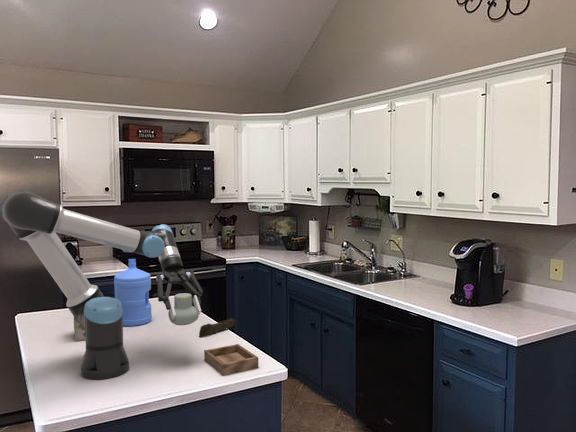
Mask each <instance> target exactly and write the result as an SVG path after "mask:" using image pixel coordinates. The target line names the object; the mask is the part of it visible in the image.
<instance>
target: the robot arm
mask: <svg viewBox="0 0 576 432" xmlns="http://www.w3.org/2000/svg"><path fill="white" fill-rule="evenodd" d="M63 207H64V206H62V204H60V203H57V202H54V201H51V200H48V199H46V198H44V197H42V196H39V195H38V194H36V193H34V192H31V191H30V192H29V191H26V190H19V191H14V192H11V193H10V194H9V195H7V196H5V197H4V199H3V201H2V203H1V204H0V215H1V217H2V219H3V220H4V221H5V222H6V223H7V224H8V225H9V227H10V228H11V230H12V232H13V233H14V234H15V235H16V237H17V238H18V239H19V240H20V241H25V242H27V243H28V245H29V246H30V248H31V249H32V251H33V252H34V253H35V255H36V256H37V257H38V259H39V260H40V262H41V264H42V265H43V266H44V267H45V269H46V271H48V273H49V275H50V276H51V278H53V280H54V282H55V283H56V284H57V286H58V287H59V289H60V290H61V292H62V293H63V294H64V296H65V297H66V298H67V301H66V304H65V306H66V308H68V310H69V312H70V313H71V314H72V316H73V320H74V319H75V320H76V322H77V323H78V324H79V325H81V326H82V327H83V328H84V329H85V340H84V341H85V351H84V353H83V358H82V362H81V364H80V375H81V376H82V377H83V378H85V379H90V380H105V379H110V378H114V377H118V376H122V374H125V373H127V372H128V371H129V370H130V360H129V357H128V354H127V352H126V349H125V347H124V346H125V345H124V326H123V309H122V304H121V302H120V301H119V300H118V299H116V298H115V297H111V296H104V294H103V292H102V291H101V290H100V288H99V287H98V285H96V284H91V283H90V282H89V280H88V278H87V277H86V276H85V274H84V273H83V272H82V270H81V269H80V266H79V265H78V264H77V262H76V261H75V259H74V258H73V256H72V255H71V253H70V252H69V250H68V249H67V248H66V246H65V245H64V243H63V242H62V240H61V239H60V237H59V235H58V234H61V235H62V234H63V235H65V236H70V237H74V238H76V239H77V238H78V239H82V240H85V241H89V242H92V243H97V244H101V245H105V246H107V247H111V248H116V249H120V250H122V252H124V253H130V254H133V253H135V254H138V255H142V256H145V257H147V258H152V259H153V258H158V261H159V263H160V267H161V272H162V274H159V273H157V274H156V275H155V276H156V277H155V282H156V284H157V301H158V302H161V303H163V304H164V305H165V310H167V311H169V310H170V314H171V317H172V319H174V318H175V316H176V313H175V310H174V303H173V300H172V298H170V293H171V289H172V285H180V286H183V287H184V289H186V291H187V292H188V293H189V294H191V295H192V304H193V305H194V307H195V308H196V309H197V311H198V315H199V316H200V315H201V313H202V309H201V303H202V300H201V298H200V297H202V295H203V292H204V291H203V289H202V287H201V284H200V283H199V282H198V280H197V277H196V276H195V272H194V271H195V270H190V271H186V269H185V268H184V264H183V261H182V258H181V255H180V253H179V249H178V245H177V243H176V240H175V235H174V233H173V230H172V228H171V227H170V226H169V225H168V224H164V223H163V224H160V225H156V226H154V227H153V228H152V230H150V231H146V230H145V231H140V230H137V229H133V228H131V227H128V226H124V225H121V224H117V223H114V222H110V221H107V220H103V219H99V218H96V217H93V216H89V215H86V214H82V213H79V212H76V211H73V210H69V209H65V208H63ZM57 233H58V234H57ZM186 276H187V277H186ZM188 279H189V280H188ZM163 280H165V281H166V282H167V286H166V290H165V294H164V288H163V287H164V286H163Z"/></svg>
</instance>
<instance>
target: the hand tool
mask: <svg viewBox="0 0 576 432" xmlns="http://www.w3.org/2000/svg"><path fill="white" fill-rule="evenodd" d="M236 321H237V320H236V319H235V318H233V317H229V318H228V319H225V320H221V321H220V322H216V323H213V324H212V323H206V324H203V325H201V326H200V329H199V332H198V333H199V334H198V335H199V338H202V337H209V336H211V335H213V334H214V333H217V332H220V331H223V330H226V329H230V328H236V326H237V322H236Z"/></svg>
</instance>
